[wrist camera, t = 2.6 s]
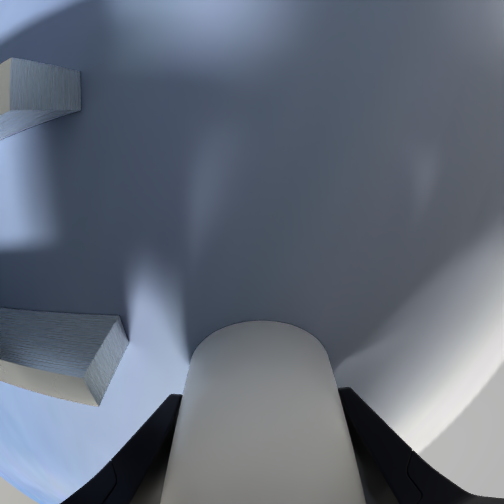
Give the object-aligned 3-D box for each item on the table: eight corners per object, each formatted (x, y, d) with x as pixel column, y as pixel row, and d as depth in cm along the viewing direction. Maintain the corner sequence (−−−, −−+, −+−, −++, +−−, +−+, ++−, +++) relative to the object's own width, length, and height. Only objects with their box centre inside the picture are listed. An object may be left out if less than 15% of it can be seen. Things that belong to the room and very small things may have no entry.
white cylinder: (322, 411, 11) (350, 575, 4) (201, 415, 11) (180, 580, 4) (337, 315, 9) (415, 555, 2) (177, 322, 9) (109, 562, 2)
